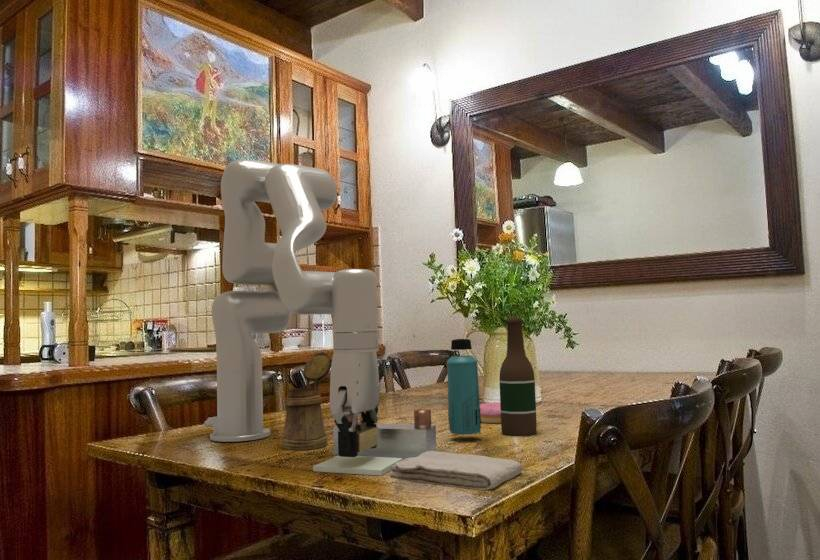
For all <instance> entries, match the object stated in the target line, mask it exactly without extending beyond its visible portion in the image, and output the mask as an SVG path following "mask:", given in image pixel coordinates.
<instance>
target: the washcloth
mask: <svg viewBox="0 0 820 560" xmlns="http://www.w3.org/2000/svg"><path fill="white" fill-rule="evenodd" d="M391 469H392V470H390V471H389V476H391V477H393V478H396V479H399V480H407V481H410V482H418V483H425V484H426V483H427V484H434V485H442V486H450V487H458V488H463V489H464V488H465V489H472V490H479V491H489V490H493V489H495V488H497V487H499V486H500V485H501V484H503V483H504V482H507V481H510V480H512V479H513V478H515V477H517V476H519V475H520V474H521V473H522V471H523V467H522V464H521V463H520V462H518V461H517V460H513V459H509V458H507V459H506V458H500V457H490V456H486V455H476V454H466V453H465V454H464V453H454V452H445V451H437V450H436V451H427V452H424V453H422V454H420V455H419V456H418V457H412V458H403V460H402V461H399V462H397V463H395V465H391Z"/></svg>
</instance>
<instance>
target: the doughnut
mask: <svg viewBox="0 0 820 560" xmlns="http://www.w3.org/2000/svg"><path fill="white" fill-rule="evenodd" d="M480 414H481V423H484V424H492V423H493V424H499V423H501V408H500V401H499V402H495V401H492V402H487V403H486V402H485V403H481V404H480ZM493 424H492V425H493ZM499 425H500V424H499Z"/></svg>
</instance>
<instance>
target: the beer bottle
mask: <svg viewBox="0 0 820 560" xmlns="http://www.w3.org/2000/svg"><path fill="white" fill-rule="evenodd" d="M523 323H524V320H523V318H522V317H521V316H518V317H507V318H506V324H507V338H506V339H507V343H506V344H507V346H506V356H505V358H504V360H503V361H502V363H501V366H500V369H499V403H500V408H501V424H500V426H501V433H502V435H504V436H511V437H528V436H534V435H536V434H537V432H538V431H537V430H538V429H537V423H538V422H537V406H536V405H537V401H536V398H537V397H536V380H535V372H534V368H533V366H532V363H531V361H530V360H529V358H528V357H527V355H526V351H525V342H524V334H523V333H524V332H523V331H524V330H523Z"/></svg>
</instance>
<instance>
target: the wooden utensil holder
mask: <svg viewBox="0 0 820 560" xmlns="http://www.w3.org/2000/svg"><path fill="white" fill-rule="evenodd" d="M331 365H332V358H331V357H330V356H329V355H328V354H327V353H326V352H324V351H321V352H319V353H316V354H315V355H313V356H312V357H310V358H308V360H307V361H306V363H305V365H304V367H303V376H304V378H305V379H306V381H307V382H306V386H305V387H304V388H303V387H301V388H300V387H299V388H298V387H296V388H289V389H288V390H287V395H286V397H285V405H286V410H285V419H284V421H285V422H284V430H283V437H282V440H281V441H282V442H281V448H282V449H284V450H289V451H309V450H316V449H321V448H325V447H326V446H327V445H328V437H327V434H326V432H325V425H324V418H323V411H322V405H321V404H322V397H321V396H322V395H321V394H320V389H319V385H320V382H321V380H324V379H325V378H326V377H327V376H328V374H329V373H330V372H331Z"/></svg>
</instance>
